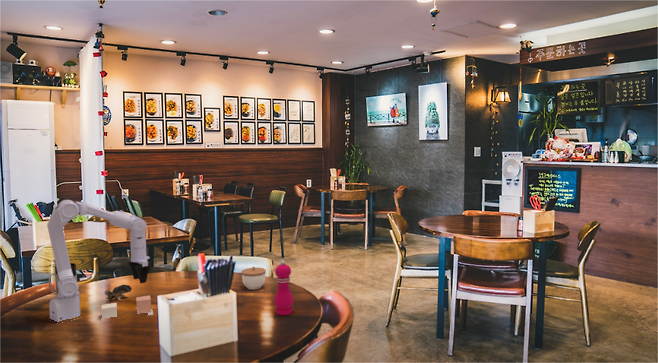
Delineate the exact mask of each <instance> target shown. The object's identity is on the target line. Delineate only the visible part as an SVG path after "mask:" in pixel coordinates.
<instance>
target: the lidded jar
mask: <svg viewBox="0 0 658 363" xmlns="http://www.w3.org/2000/svg"><path fill="white" fill-rule="evenodd" d="M266 271H267V270H266V268H263V267H255V266H252V267H250V268H249V267H248V268H244V269H243V270H241V278H242V282H243V285H244V286H245V287H246V289H247V290H250V291H251V290H259V289H261V288H262V286H263V285H264V284H265V281H266V274H267V272H266Z"/></svg>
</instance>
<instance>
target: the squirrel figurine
mask: <svg viewBox="0 0 658 363" xmlns="http://www.w3.org/2000/svg"><path fill="white" fill-rule="evenodd" d="M132 290H133V288H132V286H130V284H122V285H118V286H115V287H114V288H113V289H112V291H110V290H109V289H107V290H105V291H104V294H105V295H106V296H107V297H106V299H107V300H108V301H111V302H112V300H113V299H116V300H118V301H122V299H121V298H120V297H122V298H126V297H127V296H126V295H125V294H127V293H131V291H132Z"/></svg>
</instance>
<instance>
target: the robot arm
mask: <svg viewBox="0 0 658 363" xmlns="http://www.w3.org/2000/svg"><path fill="white" fill-rule="evenodd" d="M87 215H89V216H94V217H97V218H101V219H104V220H107V221H108V222H109V224H110V225H111V226H115V227H118V228H120V229H125V230H129V231H130V232H129V234H130V237H129V241H130V261H128V262H127V265H128V266H129V268H130V270H131V273H132V278H133V280H139V284H145V283H147V279H148V275H149V272H150V269H151V268H152V265H151V264H148V260H149V259H150V256H147V237H146V230H147V228H148V225H147V223H146V220H144V219H142V218H141V217H139V216H136V215H135V214H128V213H125V211H124V210H115V211H109V210H106V209H103V208H100V207H98V206H94V205H91V204H89V203H84V202H81V201H73V200H71V199H63V200H62V201H60V202H59V203H58V204H57V205H56V206H55V207H54V209H53V210H52V213H51V216H50V217H49V219H48V222H47V232H48V235H49V236H48V237H49V240H50V245H51V248H52V253H53V258H54V263H55V266H56V267H57V273H58V281H57V287H58V288H59V293H58V294H57V297H56V296H55V298H51V299H50V300H49V304H48V305H49V306H48V308H49V319H52V320H54V321H57V322H59V321H62V320H66V319H72V318H75V317H78V316H80V314H81V300H80V298H81V297H80V291H79V283H78V281H77V282H76V279H75V278H74V277H73V273H72V269H71V265H70V263H71V260H70V256H69V252H68V247H67V243H66V238H65V233H64V227H65V226H66V225H67V224H68V223H69V221H71V220H73V219H75V218H76V217H77V216H80V217H81V216H87ZM60 318H61V319H60Z"/></svg>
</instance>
